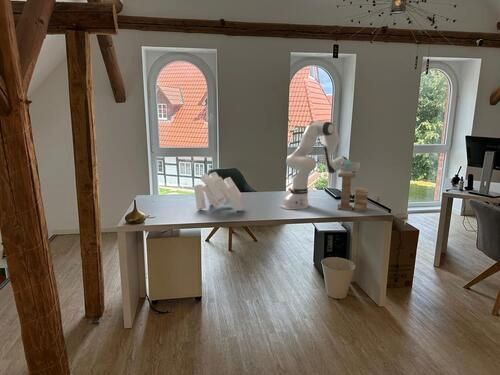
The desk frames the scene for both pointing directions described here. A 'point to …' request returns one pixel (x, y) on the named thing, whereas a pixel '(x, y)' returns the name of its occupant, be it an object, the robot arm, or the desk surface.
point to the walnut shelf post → (345, 191)
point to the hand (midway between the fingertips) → (346, 161)
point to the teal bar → (347, 164)
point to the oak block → (360, 199)
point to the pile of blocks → (217, 191)
